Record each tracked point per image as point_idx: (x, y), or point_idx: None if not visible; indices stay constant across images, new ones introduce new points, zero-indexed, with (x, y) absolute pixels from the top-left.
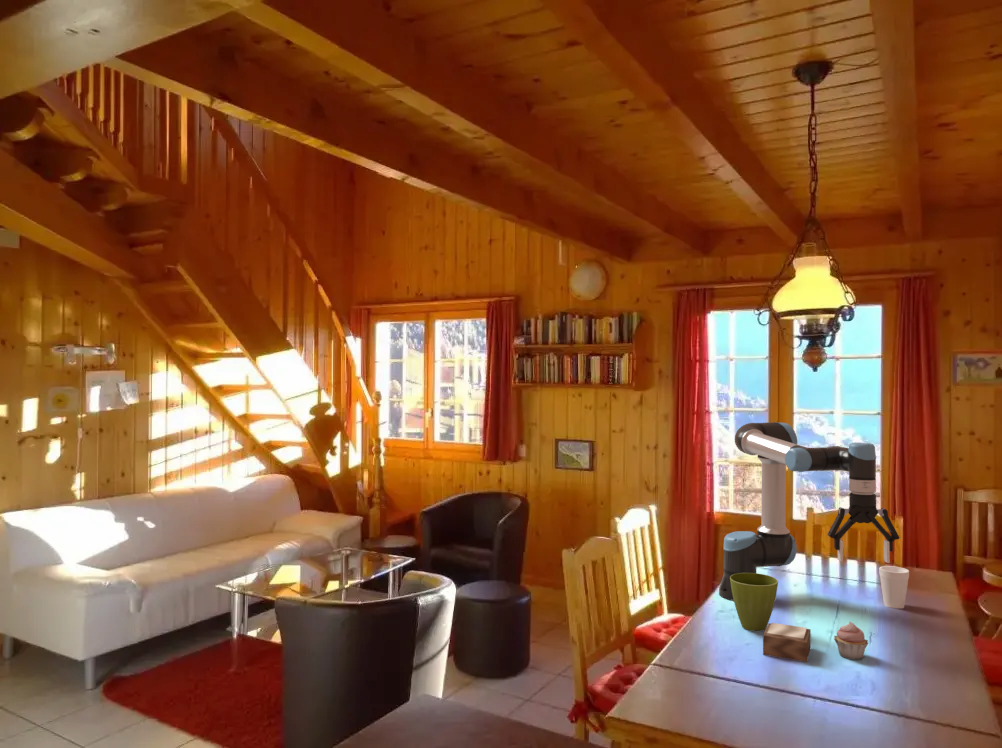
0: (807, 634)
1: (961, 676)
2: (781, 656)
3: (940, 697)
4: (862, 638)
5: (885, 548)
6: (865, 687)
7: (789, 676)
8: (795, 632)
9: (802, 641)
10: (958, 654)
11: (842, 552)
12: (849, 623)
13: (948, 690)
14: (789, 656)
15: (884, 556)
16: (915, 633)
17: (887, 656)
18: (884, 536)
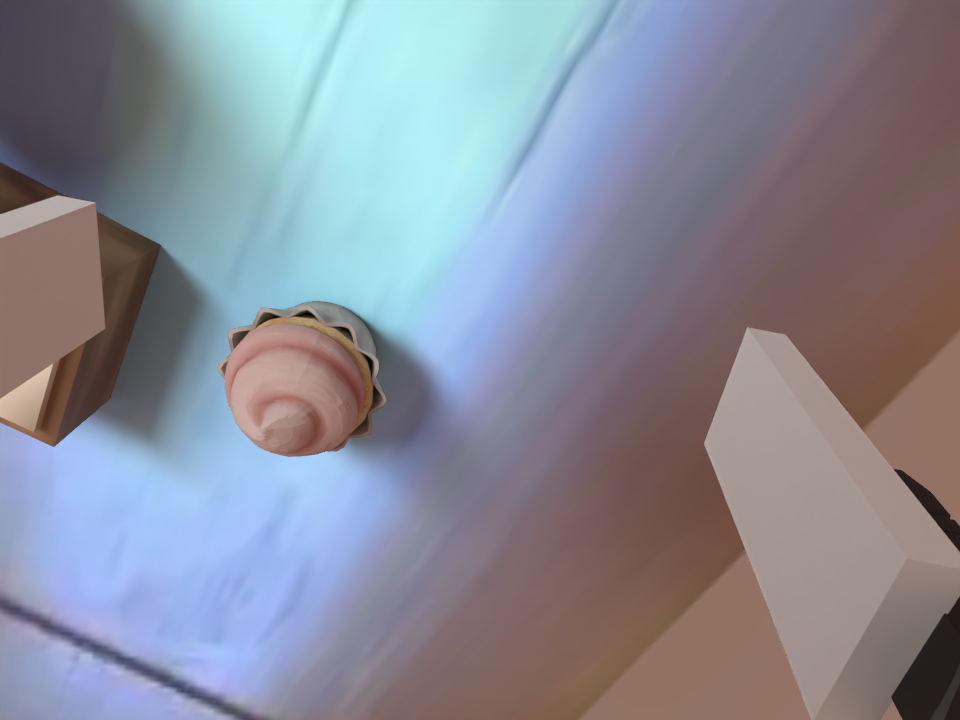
0: (73, 352)
1: (673, 561)
2: None
3: (473, 676)
4: (331, 449)
5: (788, 526)
6: (263, 603)
7: (21, 511)
8: None
9: (34, 437)
10: (873, 361)
11: (7, 389)
12: (259, 436)
13: (535, 643)
14: None
15: (756, 392)
16: (917, 17)
17: (496, 363)
18: (950, 684)
